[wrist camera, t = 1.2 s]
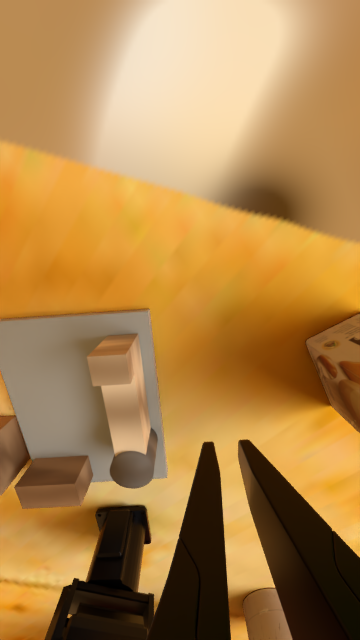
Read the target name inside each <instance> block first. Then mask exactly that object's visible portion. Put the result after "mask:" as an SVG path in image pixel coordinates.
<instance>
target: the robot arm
mask: <svg viewBox="0 0 360 640" xmlns="http://www.w3.org/2000/svg"><path fill="white" fill-rule="evenodd" d="M238 459H239V464H240V469H241V473H242V477H243V482H244V486H245V490H246V495H247V499H248V503H249V507H250V511H251V514H252V517H253V520H254V523H255V526H256V529H257V532H258V535H259V538H260V542H261V545H262V548H263V551H264V554H265V557H266V560H267V563H268V566H269V569H270V572H271V575H272V578H273V581H274V584H275V587H276V591H277V594H278V597H279V600H280V603H281V606H282V609H283V612H284V615H285V618H286V621H287V624H288V627H289V630H290V633H291V636H292V639H293V640H360V558H359V557H358V556H357V554H356V553H355V552H354V551H353V550H352V549H351V548H350V547H349V546H348V545H347V544H346V543H345V542H344V541H343V540H342V539H341V538H340V537H339V536H338V534H337V533H336V532H335V531H332V528H331V527H330V526H329V525H328V524H327V523H326V522H325V521H324V520H323V518H322V517H321V516H320V515H319V514H318V513H317V512H316V511H315V510H314V509H313V508H312V507H311V506H310V505H309V504H308V502H307V501H306V500H305V499H304V498H303V497H302V496H301V495H300V494H299V493H298V492H297V491H296V490H295V489H294V487H293V486H292V485H291V484H290V483H289V482H288V481H287V480H286V479H285V478H284V477H283V476H282V475H281V474H280V472H279V471H278V470H277V469H276V468H275V467H274V466H273V465H272V464H271V463H270V462H269V461H268V460H267V459H266V457H265V456H264V455H263V454H262V453H261V452H260V451H259V450H258V449H257V448H256V447H255V446H254V445H253V444H252V442H251V441H249V440H239V442H238ZM96 519H97V523H98V527H99V531H100V535H99V538H98V541H97V545H96V548H95V551H94V555H93V558H92V562H91V565H90V568H89V572H88V575H87V579H86V582H84V581H79V579H77V578H74V580H73V583H72V585H69V586H65V587H64V588H63V590H62V593H61V596H60V599H59V602H58V604H57V607H56V610H55V613H54V615H53V618H52V621H51V624H50V626H49V629H48V632H47V634H46V637H45V640H231V633H230V617H229V602H228V586H227V571H226V555H225V540H224V524H223V509H222V493H221V478H220V470H219V465H218V460H217V456H216V452H215V447H214V443H213V442H204V443H203V445H202V449H201V453H200V457H199V461H198V465H197V469H196V472H195V476H194V480H193V484H192V488H191V492H190V496H189V500H188V503H187V507H186V511H185V515H184V519H183V523H182V527H181V531H180V534H179V539H178V542H177V545H176V549H175V553H174V557H173V560H172V564H171V567H170V571H169V574H168V578H167V581H166V584H165V587H164V590H163V593H162V596H161V599H160V602H159V605H158V607H157V610H156V613H155V616H154V594H151V593H149V594H144V593H139V592H138V586H139V579H140V571H141V563H142V555H143V547H144V544H150V543H151V533H150V527H149V521H148V514H147V509H146V508H145V507H126V508H107V509H98V510H97V512H96ZM68 614H71V615H72V616H71V617H70V618H67V616H68Z"/></svg>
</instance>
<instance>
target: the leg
mask: <svg viewBox="0 0 360 640" xmlns="http://www.w3.org/2000/svg"><path fill="white" fill-rule="evenodd" d="M87 360H88V365H89V370H90V374H91V379H92V384H93V386H101V388H102V393H103V398H104V403H105V408H106V413H107V418H108V423H109V428H110V433H111V438H112V443H113V448H114V453H115V454H114V457H113V460H112V463H111V466H110V476H111V478H112V479H113V480H114V481H115V482H116V483H117V484H119V485H120V486H123V487H126V488H140V487H143V486H145V485H147V484H148V483H149V482H150V481H151V480H152V478H153V475H154V466H155V458H156V450H157V442H158V437H157V434H156V432H155V431H154V430H153V429H152V428H151V425H150V418H149V410H148V403H147V395H146V388H145V380H144V373H143V365H142V358H141V350H140V343H139V335H138V334H124V335H109V336H107V337H106V338H105V339H104V340H103V341H102V342H101V343H100V344H99V345H98V346H97V347H96V348H95V349H94V350H93V351H92V352H91V353H90V354H89V355H88V356H87Z"/></svg>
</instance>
